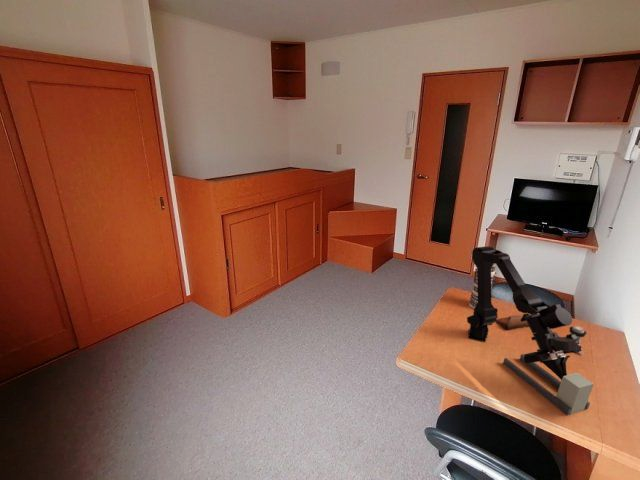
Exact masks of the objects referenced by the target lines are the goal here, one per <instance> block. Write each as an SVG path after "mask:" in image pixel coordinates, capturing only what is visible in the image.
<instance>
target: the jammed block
mask: <svg viewBox="0 0 640 480" xmlns="http://www.w3.org/2000/svg"><path fill="white" fill-rule="evenodd" d="M560 381H561V384H560V387H559V389H558V390H557V393H556V395H555V396H556V397H557V398H558V399H560V400H561V401H562V402H563V403H565V404H566V405H567V406H569V407H570V408H571V412H570V415H571V414H575V413H578V412H581V411H584V410H586V409H585V406H586V404H587V401H588V402H589V398H590V395H591V393H592V389H593V388H594V383H593V382H592V381H590V380H588V378H586V377H584V376H583V375H581V374H580V373H578V372H574V373H571V374H567V375H566V376H563V378H562V380H560Z"/></svg>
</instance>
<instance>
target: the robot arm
mask: <svg viewBox="0 0 640 480" xmlns="http://www.w3.org/2000/svg"><path fill="white" fill-rule="evenodd" d="M471 256H472V262H473V264H474V265H475V267H476V268H477V273H476V274H477V279H478V303H477V305H476V306H475V308H474V309H473V314H472V315H470V316H467V317H466V322H467V323H468V324H469V328H468V330H467V332H468V333H467V334H468V339H471V340H474V341H475V340H476V341H479V342H485V343H486V342H487V340H486V339H487V338H488V334H489V326H492V325H493V324H494V323H496V320H497V319H499V317H498V311H499V310H498V308H497V307H495V306H494V305H493V303H492V289H491V268H492V266H493V264H494V263H495V264H496V265H497V266H496V267H497V268H498V270H499V272H500V273H501V275H502V277H503V279H504V280H505V282H506V284H507V285H508V287H509V288H510V290H511V292H512V301H513V303H514V306H515V309H517V310H518V312H520V313H522V316H523V317H522V318H521V322H524V321H527V323H528V325H529V326H528V327H529V330H530V332H531V333H532V336H531V341H535V342H536V344H537V346H538V349H536V351H534V352H533V351H532V352H527V353H525V354H524V360H525V362H526V363H532V362H535V363H540V364H543V365H544V366H545V367H547V368H548V369H549V370H551V372H553V374H555V376H557V378H559V379H560V381H562V378H563V376H566V375H568V373H567V362H568V361H567V360H568V359H569V358H570V357H571V355H567V354H571V353H576V352H581V351H583V350H582V347H581V348H580V346H581V345H580V344H579V341H578V339H577V337H576V335H575V334H571V333H568V334H566V336H560V335H559V334H558V333H557V332H556V331H554V332H553V330H554V329H559V328H563V327H566V326H570V325H572V323H573V317H572V315H571V313H570V312H569V311H568V310H567V309H565V308H564V307H562V306H561V304H560V303H557V304H553V305H548V304H547V303H546V302H544V301H543V300H542V299H541V298H540V297H539V295H538V294H537V293H536V292H535V290H533V289H532V288H530V287H529V286H527V284H526V283H525V281H524V279H523V278H522V277H521V275H520V272H519V271H518V270H517V268H516V266H515V265H514V264H513V261H512V260H511V257H510V255H509V254H508V253H505V252H503V251H502V250H498V249H495V248H494V247H493V246H490V245H488V246H478V247H475V248H474V249H473V250H472V251H471ZM552 329H553V330H552ZM578 344H579V345H580V346H579V345H578ZM576 354H577V353H576Z"/></svg>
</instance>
